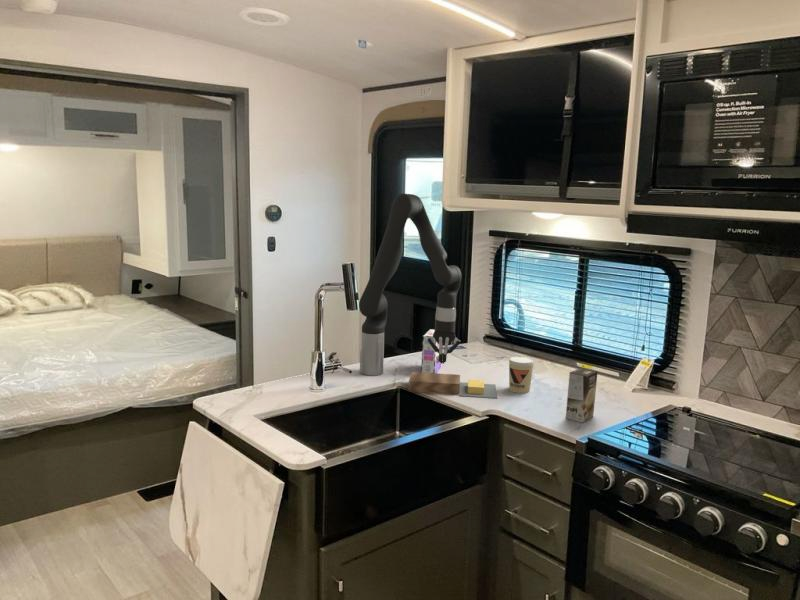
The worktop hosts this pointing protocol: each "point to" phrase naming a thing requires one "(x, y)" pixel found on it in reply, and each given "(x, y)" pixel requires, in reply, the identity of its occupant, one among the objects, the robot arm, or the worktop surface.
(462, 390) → the mat
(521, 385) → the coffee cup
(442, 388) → the brown flat block
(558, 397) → the worktop surface
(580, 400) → the coffee box
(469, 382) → the yellow rectangular block
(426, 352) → the candy box
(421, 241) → the robot arm
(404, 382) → the worktop surface
